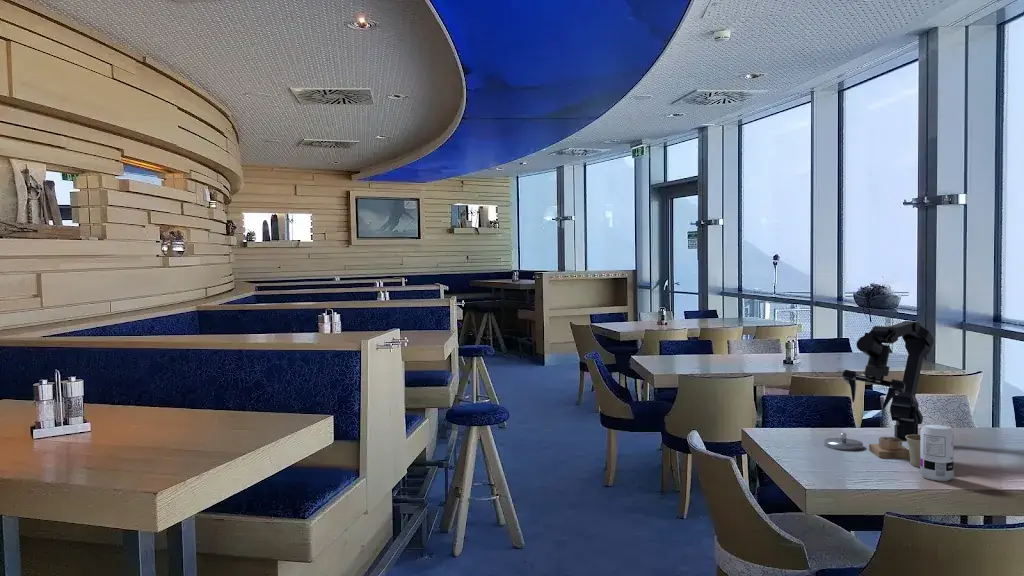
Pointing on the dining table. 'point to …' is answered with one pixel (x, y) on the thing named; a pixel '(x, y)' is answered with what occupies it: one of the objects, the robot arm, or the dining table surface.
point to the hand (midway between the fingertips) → (868, 405)
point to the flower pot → (914, 449)
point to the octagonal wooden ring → (890, 443)
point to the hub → (843, 443)
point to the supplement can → (936, 452)
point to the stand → (889, 452)
